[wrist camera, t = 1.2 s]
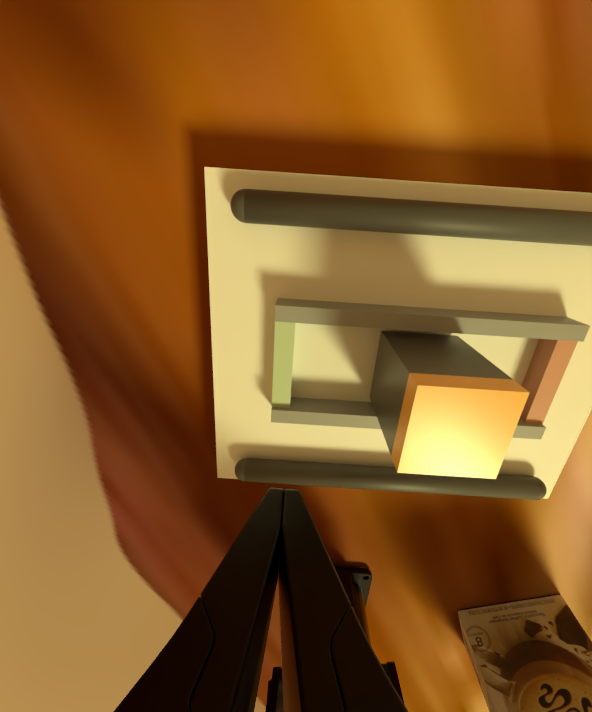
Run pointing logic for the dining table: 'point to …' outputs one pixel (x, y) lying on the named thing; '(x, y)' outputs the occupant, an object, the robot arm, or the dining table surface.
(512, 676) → the coffee box
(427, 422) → the lever
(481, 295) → the panel
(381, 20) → the dining table surface
